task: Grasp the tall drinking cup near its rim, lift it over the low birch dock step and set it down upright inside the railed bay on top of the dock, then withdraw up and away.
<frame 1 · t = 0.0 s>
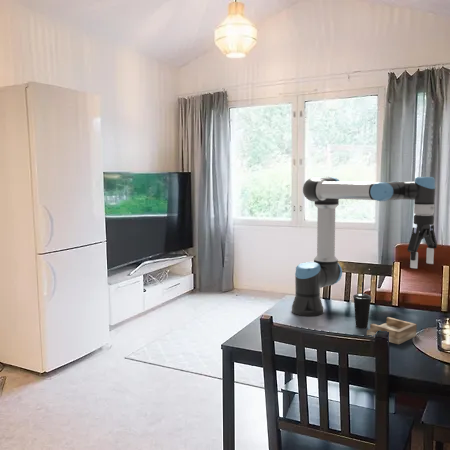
hand: (421, 265, 187), 28 cm above the table, fingers open, 13 cm apart
dock: (391, 335, 186), on the table
drinking cup: (361, 327, 196), on the table
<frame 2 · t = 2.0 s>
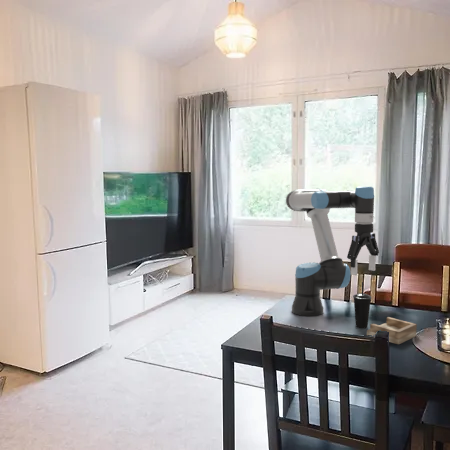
hand: (363, 272, 193), 24 cm above the table, fingers open, 13 cm apart
nothing on the table moved.
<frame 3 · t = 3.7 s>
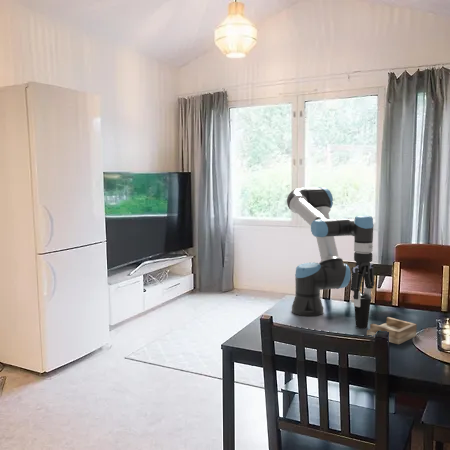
hand: (362, 304, 195), 10 cm above the table, fingers closed on drinking cup, 7 cm apart
drinking cup: (361, 327, 196), on the table, touching gripper
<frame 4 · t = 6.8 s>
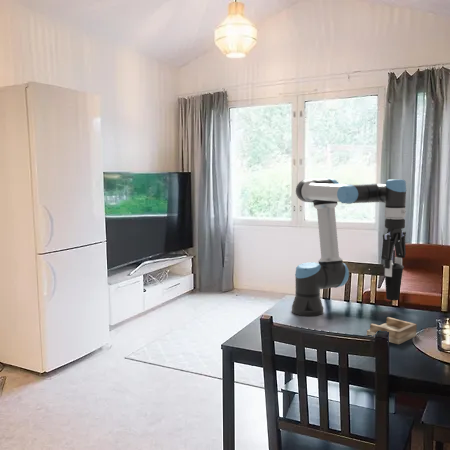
hand: (393, 274, 183), 25 cm above the table, fingers closed on drinking cup, 7 cm apart
drinking cup: (392, 299, 184), point 15 cm above the table, touching gripper
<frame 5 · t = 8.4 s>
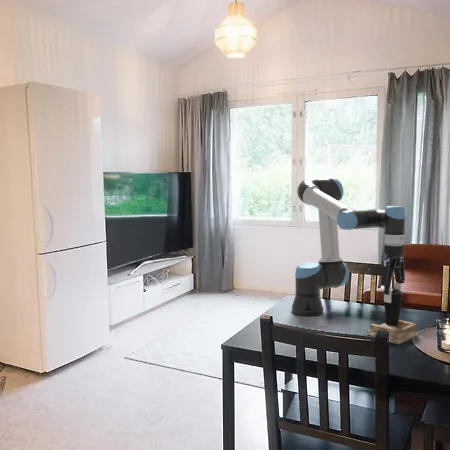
hand: (392, 300, 184), 15 cm above the table, fingers closed on drinking cup, 7 cm apart
drinking cup: (392, 324, 185), point 5 cm above the table, touching gripper
when the fingers open (13 cm above the table, at t = 9.7 s): drinking cup stays where it is, resting on dock.
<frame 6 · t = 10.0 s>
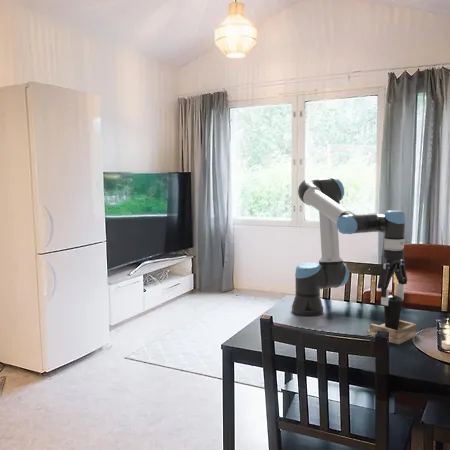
hand: (392, 302, 184), 14 cm above the table, fingers open, 11 cm apart
drinking cup: (391, 331, 186), point 2 cm above the table, touching dock
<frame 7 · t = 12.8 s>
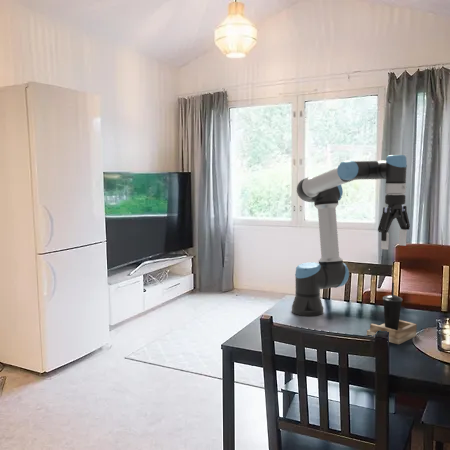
hand: (393, 247, 182), 37 cm above the table, fingers open, 13 cm apart
nothing on the table moved.
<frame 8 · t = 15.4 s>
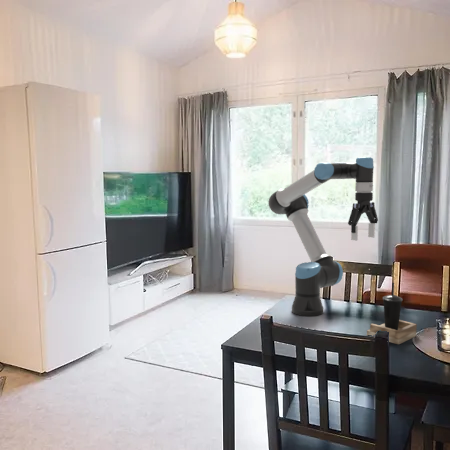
hand: (363, 238, 206), 37 cm above the table, fingers open, 13 cm apart
nothing on the table moved.
at the end: drinking cup inside the target area on the dock (0.1 cm from its centre), point 1.8 cm above the dock's base; drinking cup tilted 0°; the gripper is holding nothing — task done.
